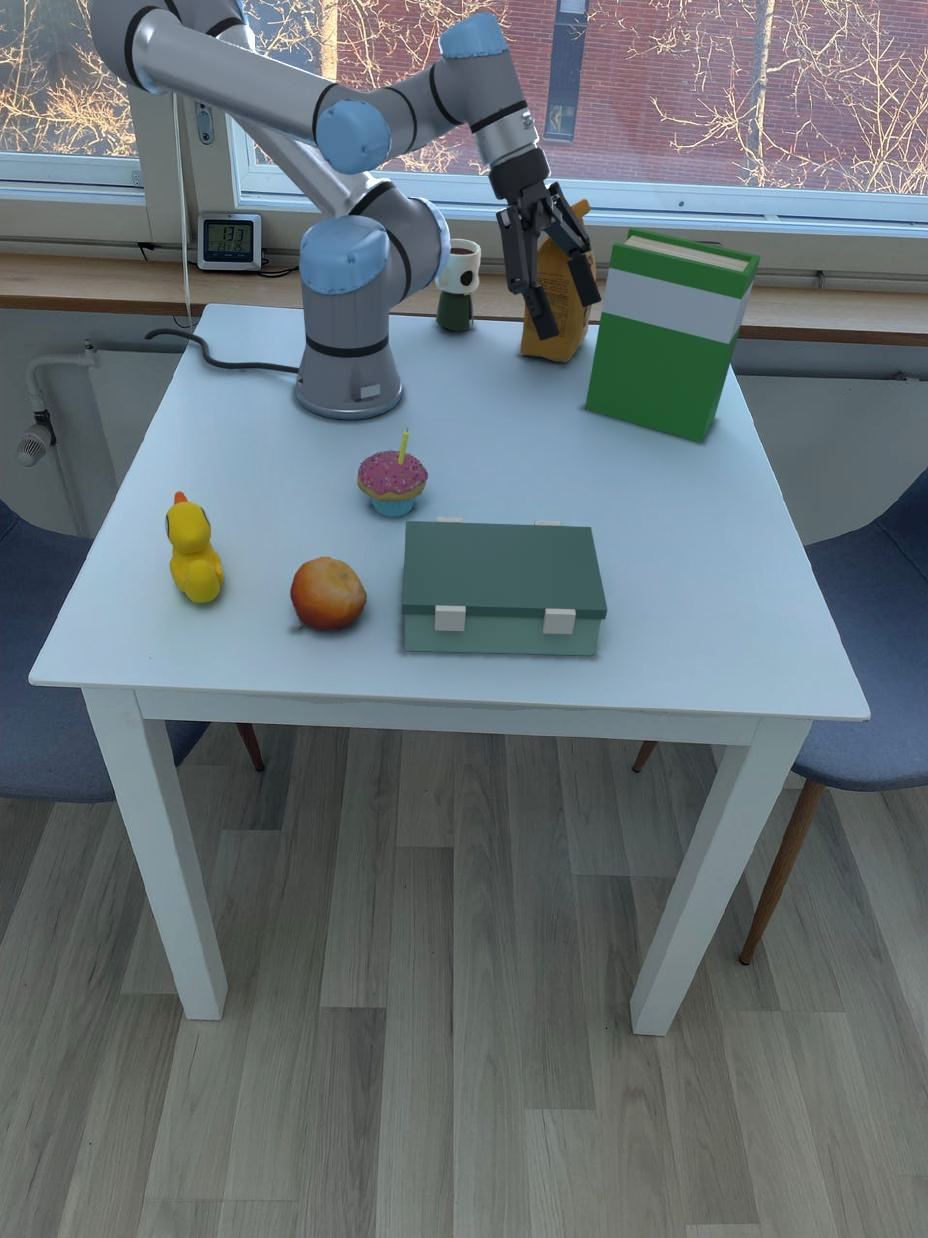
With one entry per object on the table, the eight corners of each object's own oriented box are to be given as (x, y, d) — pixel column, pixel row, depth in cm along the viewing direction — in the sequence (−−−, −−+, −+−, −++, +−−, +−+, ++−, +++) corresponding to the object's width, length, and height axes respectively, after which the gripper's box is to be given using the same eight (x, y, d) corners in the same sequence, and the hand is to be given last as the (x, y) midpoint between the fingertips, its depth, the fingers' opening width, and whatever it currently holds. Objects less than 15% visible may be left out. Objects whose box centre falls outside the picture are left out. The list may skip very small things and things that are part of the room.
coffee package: (595, 340, 147) (619, 202, 132) (567, 371, 139) (589, 227, 124) (541, 325, 150) (558, 188, 135) (510, 354, 142) (524, 212, 126)
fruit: (276, 583, 97) (310, 534, 93) (340, 609, 100) (376, 563, 96) (270, 635, 91) (307, 585, 87) (338, 661, 95) (376, 614, 90)
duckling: (166, 557, 101) (150, 485, 94) (214, 548, 103) (201, 477, 96) (183, 623, 94) (166, 549, 87) (234, 611, 96) (222, 539, 89)
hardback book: (585, 408, 131) (612, 244, 114) (601, 387, 136) (630, 226, 119) (701, 442, 126) (747, 275, 109) (714, 419, 131) (760, 255, 114)
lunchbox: (401, 658, 92) (402, 609, 87) (405, 564, 103) (406, 515, 98) (597, 663, 93) (608, 615, 88) (580, 569, 104) (590, 522, 99)
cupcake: (435, 496, 113) (439, 413, 105) (411, 534, 107) (412, 449, 99) (374, 480, 115) (372, 397, 106) (346, 517, 109) (342, 432, 100)
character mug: (455, 343, 143) (459, 263, 134) (418, 330, 146) (420, 251, 137) (489, 319, 150) (495, 242, 141) (454, 308, 153) (458, 231, 144)
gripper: (489, 166, 100) (555, 345, 109) (579, 125, 117) (631, 283, 125) (439, 191, 105) (506, 360, 113) (533, 148, 121) (585, 298, 130)
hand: (572, 320), depth 119 cm, fingers open, 13 cm apart
